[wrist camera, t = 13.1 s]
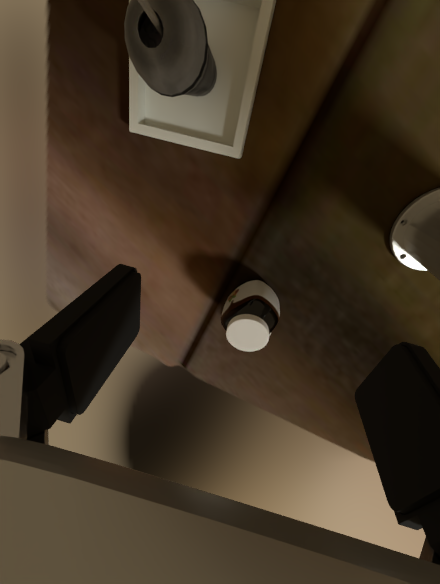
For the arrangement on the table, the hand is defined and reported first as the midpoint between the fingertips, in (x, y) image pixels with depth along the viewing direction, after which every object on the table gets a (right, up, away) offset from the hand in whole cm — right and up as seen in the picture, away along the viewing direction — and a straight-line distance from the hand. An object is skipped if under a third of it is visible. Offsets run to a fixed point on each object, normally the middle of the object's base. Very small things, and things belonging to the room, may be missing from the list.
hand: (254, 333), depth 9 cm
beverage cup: (-4, +30, +23) cm, 38 cm away
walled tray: (-4, +30, +23) cm, 38 cm away
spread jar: (+6, -1, +41) cm, 41 cm away
